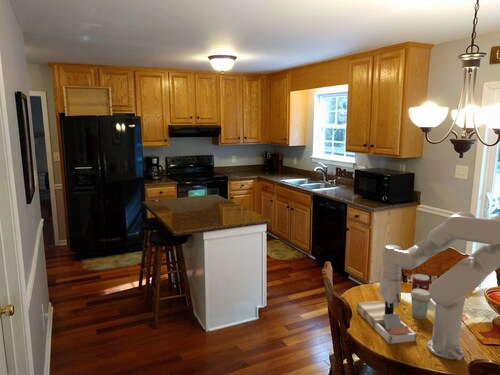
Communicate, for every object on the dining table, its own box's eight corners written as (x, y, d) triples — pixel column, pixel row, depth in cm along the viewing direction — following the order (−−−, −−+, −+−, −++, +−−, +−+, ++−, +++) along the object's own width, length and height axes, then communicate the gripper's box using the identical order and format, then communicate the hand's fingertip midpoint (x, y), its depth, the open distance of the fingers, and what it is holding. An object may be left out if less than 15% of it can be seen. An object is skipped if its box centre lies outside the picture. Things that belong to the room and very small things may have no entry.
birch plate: (399, 326, 166) (400, 317, 165) (374, 328, 164) (375, 320, 163) (379, 308, 182) (380, 300, 181) (356, 310, 180) (357, 302, 179)
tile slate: (399, 329, 160) (402, 328, 158) (386, 330, 159) (388, 329, 157) (395, 315, 163) (398, 313, 161) (382, 315, 162) (385, 314, 160)
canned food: (409, 297, 195) (410, 276, 193) (414, 292, 200) (416, 272, 199) (424, 301, 190) (426, 281, 188) (429, 296, 195) (431, 276, 194)
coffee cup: (404, 314, 177) (406, 290, 175) (417, 310, 181) (419, 286, 179) (420, 322, 169) (422, 297, 167) (433, 318, 173) (435, 293, 171)
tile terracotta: (400, 329, 160) (402, 336, 158) (387, 331, 159) (389, 337, 157) (407, 326, 155) (409, 332, 153) (394, 327, 154) (396, 333, 152)
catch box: (415, 340, 155) (416, 334, 154) (389, 343, 153) (389, 336, 152) (400, 326, 166) (400, 320, 165) (375, 329, 163) (375, 322, 163)
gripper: (374, 268, 167) (372, 307, 170) (393, 281, 153) (390, 324, 156) (389, 267, 169) (387, 306, 172) (409, 280, 154) (407, 322, 157)
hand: (388, 314), depth 164 cm, fingers closed
